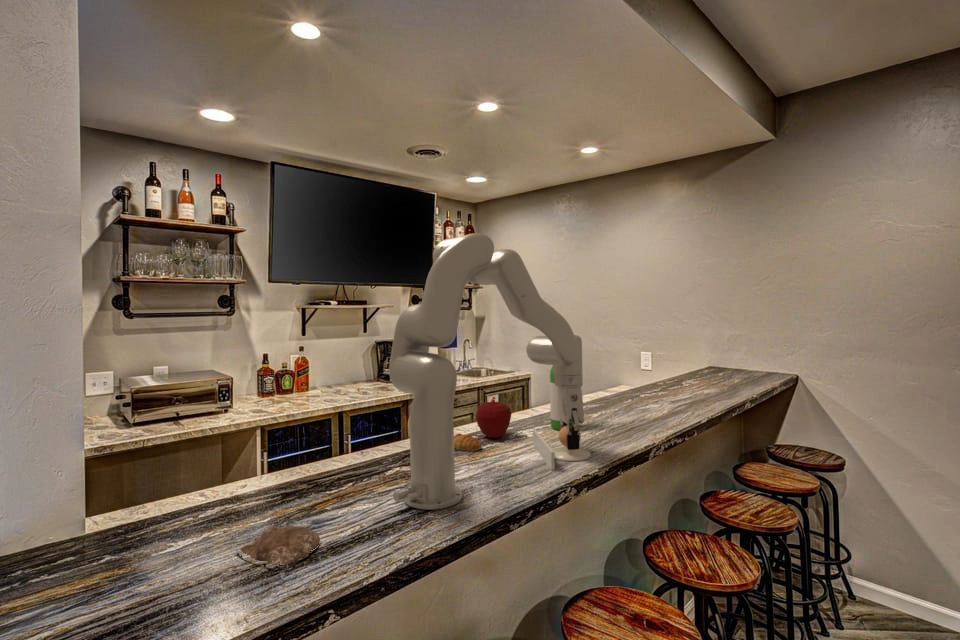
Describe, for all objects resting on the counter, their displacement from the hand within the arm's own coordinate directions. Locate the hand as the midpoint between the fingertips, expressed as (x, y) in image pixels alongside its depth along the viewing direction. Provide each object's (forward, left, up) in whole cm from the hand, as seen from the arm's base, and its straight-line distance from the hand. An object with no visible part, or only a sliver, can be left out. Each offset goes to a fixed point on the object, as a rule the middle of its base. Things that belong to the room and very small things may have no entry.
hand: (569, 445), depth 136 cm
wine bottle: (+23, +17, -3) cm, 29 cm away
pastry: (-12, +28, -3) cm, 30 cm away
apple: (+1, +28, -3) cm, 28 cm away
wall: (-6, +5, -3) cm, 8 cm away
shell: (-76, +11, -4) cm, 77 cm away
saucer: (0, 0, -3) cm, 3 cm away
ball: (0, 0, +2) cm, 2 cm away
